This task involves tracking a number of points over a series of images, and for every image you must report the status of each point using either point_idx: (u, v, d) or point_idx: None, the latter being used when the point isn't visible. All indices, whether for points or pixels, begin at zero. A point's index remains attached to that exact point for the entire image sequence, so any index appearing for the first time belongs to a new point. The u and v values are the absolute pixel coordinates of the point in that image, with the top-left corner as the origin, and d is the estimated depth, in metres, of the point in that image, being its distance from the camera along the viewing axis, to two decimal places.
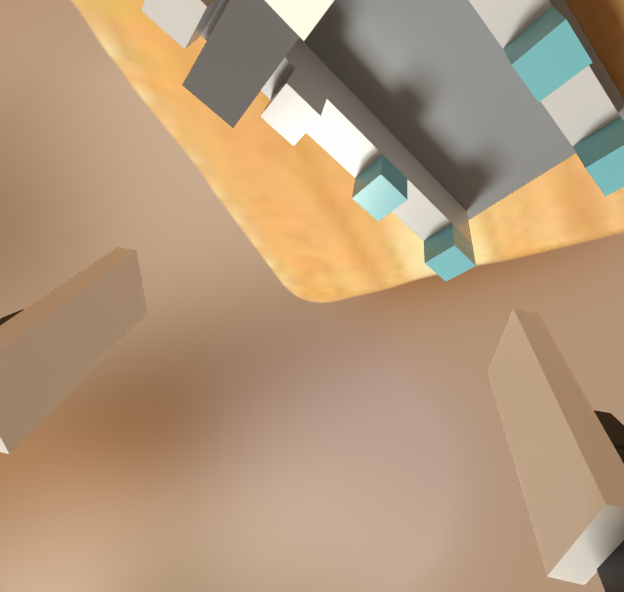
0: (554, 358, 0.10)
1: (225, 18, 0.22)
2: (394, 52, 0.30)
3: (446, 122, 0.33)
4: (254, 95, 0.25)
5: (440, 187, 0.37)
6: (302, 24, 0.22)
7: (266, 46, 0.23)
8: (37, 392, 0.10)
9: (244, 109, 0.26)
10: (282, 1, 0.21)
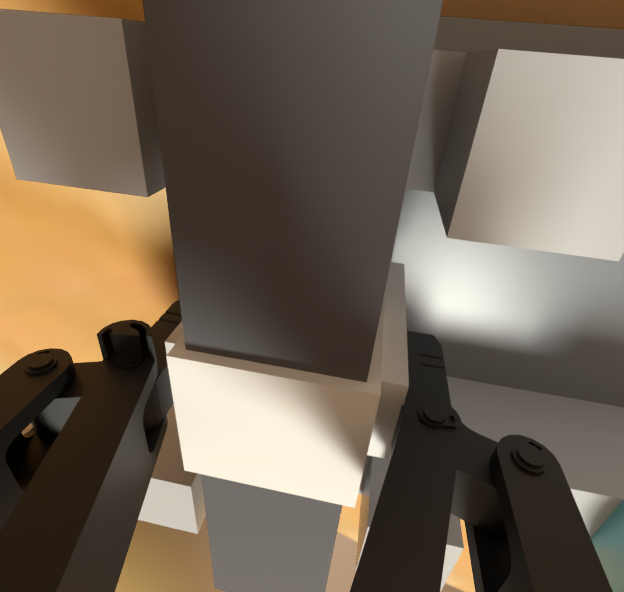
0: (396, 294, 0.13)
1: (213, 512, 0.12)
2: (518, 309, 0.16)
3: None
4: (324, 576, 0.13)
5: None
6: (334, 490, 0.10)
7: (297, 522, 0.11)
8: None
9: None
10: (277, 476, 0.10)
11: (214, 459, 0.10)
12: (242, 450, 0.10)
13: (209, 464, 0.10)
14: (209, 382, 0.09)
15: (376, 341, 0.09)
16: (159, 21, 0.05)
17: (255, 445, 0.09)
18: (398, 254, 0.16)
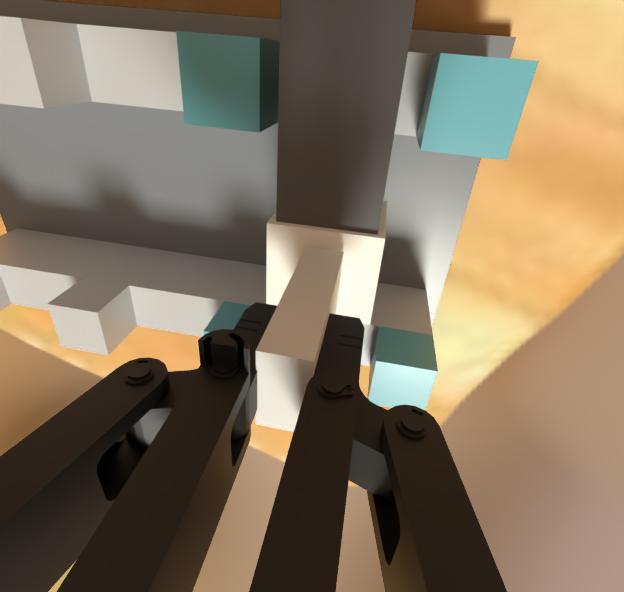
0: (327, 279, 0.13)
1: None
2: (194, 196, 0.25)
3: None
4: None
5: None
6: (358, 311, 0.17)
7: None
8: None
9: None
10: None
11: None
12: None
13: None
14: (289, 239, 0.15)
15: (382, 221, 0.16)
16: (286, 42, 0.12)
17: None
18: (112, 160, 0.25)
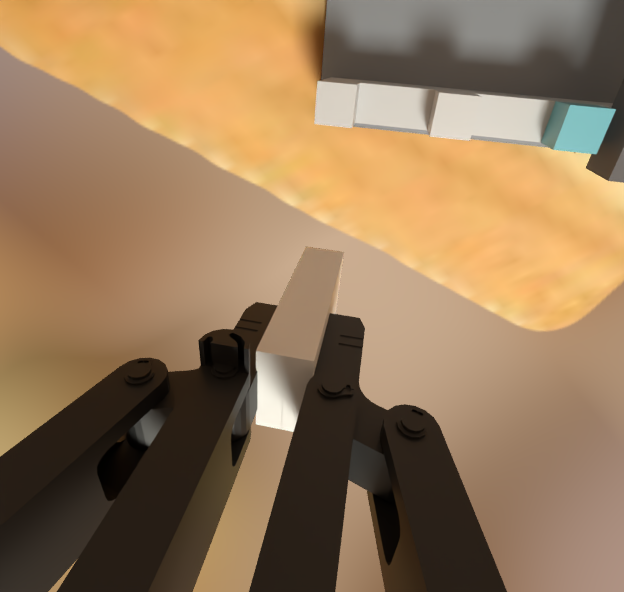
0: (328, 279, 0.13)
1: None
2: (507, 33, 0.32)
3: (597, 47, 0.32)
4: None
5: None
6: None
7: None
8: None
9: None
10: None
11: None
12: None
13: None
14: None
15: None
16: None
17: None
18: (446, 4, 0.32)
